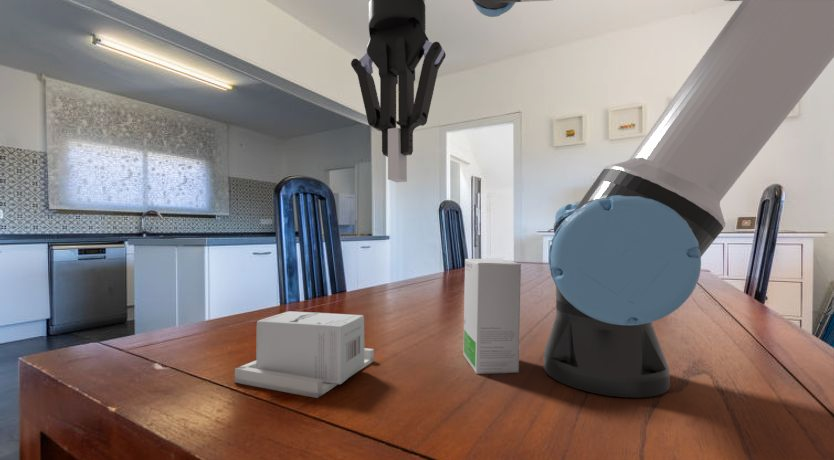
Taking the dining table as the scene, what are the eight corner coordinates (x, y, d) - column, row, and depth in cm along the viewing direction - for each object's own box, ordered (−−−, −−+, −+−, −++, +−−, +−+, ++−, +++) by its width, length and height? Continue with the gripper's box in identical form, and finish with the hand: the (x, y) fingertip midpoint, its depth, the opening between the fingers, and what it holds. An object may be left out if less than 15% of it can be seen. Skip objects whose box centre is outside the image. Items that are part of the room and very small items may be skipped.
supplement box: (341, 325, 44) (254, 320, 48) (341, 386, 44) (254, 377, 48) (365, 313, 52) (288, 309, 55) (365, 365, 51) (288, 358, 55)
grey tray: (374, 360, 55) (374, 349, 55) (317, 398, 42) (317, 382, 42) (304, 351, 60) (304, 340, 60) (234, 382, 47) (234, 368, 47)
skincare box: (462, 356, 58) (462, 258, 58) (503, 354, 58) (502, 258, 59) (476, 375, 49) (475, 261, 50) (523, 373, 50) (522, 261, 50)
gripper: (452, 9, 49) (453, 181, 48) (367, 29, 54) (367, 187, 53) (434, -30, 42) (436, 171, 41) (339, -3, 47) (338, 179, 46)
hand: (397, 180), depth 47 cm, fingers closed
